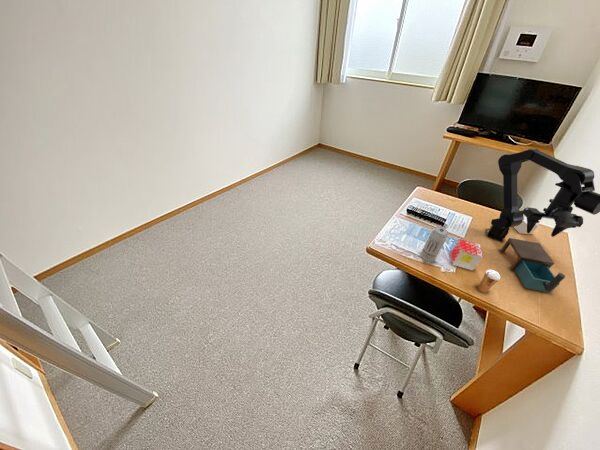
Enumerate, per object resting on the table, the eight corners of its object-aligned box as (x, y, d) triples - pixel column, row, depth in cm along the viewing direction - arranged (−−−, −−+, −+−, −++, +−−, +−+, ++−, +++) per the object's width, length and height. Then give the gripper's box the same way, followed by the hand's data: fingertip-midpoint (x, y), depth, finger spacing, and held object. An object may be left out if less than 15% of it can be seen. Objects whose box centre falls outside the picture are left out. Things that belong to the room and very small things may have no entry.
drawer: (513, 267, 113) (530, 247, 106) (536, 271, 112) (555, 251, 105) (529, 295, 102) (549, 274, 95) (555, 300, 101) (577, 279, 94)
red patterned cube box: (452, 264, 112) (460, 250, 107) (450, 252, 118) (459, 238, 113) (473, 270, 110) (482, 256, 105) (470, 257, 116) (479, 244, 111)
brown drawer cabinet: (499, 250, 121) (509, 237, 116) (528, 255, 120) (539, 243, 115) (510, 270, 112) (521, 257, 107) (542, 276, 111) (554, 263, 106)
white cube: (512, 225, 137) (519, 216, 134) (523, 226, 137) (531, 217, 134) (519, 233, 133) (526, 223, 129) (531, 234, 133) (539, 224, 129)
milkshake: (471, 284, 104) (484, 266, 98) (484, 284, 105) (497, 266, 98) (478, 294, 100) (492, 276, 94) (491, 293, 101) (506, 276, 95)
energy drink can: (416, 257, 113) (430, 230, 104) (422, 250, 117) (436, 223, 107) (430, 265, 110) (446, 238, 101) (436, 258, 114) (451, 231, 104)
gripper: (548, 207, 97) (525, 242, 105) (606, 215, 95) (577, 250, 103) (532, 193, 106) (512, 226, 115) (584, 200, 104) (559, 233, 113)
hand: (539, 234), depth 111 cm, fingers open, 9 cm apart
